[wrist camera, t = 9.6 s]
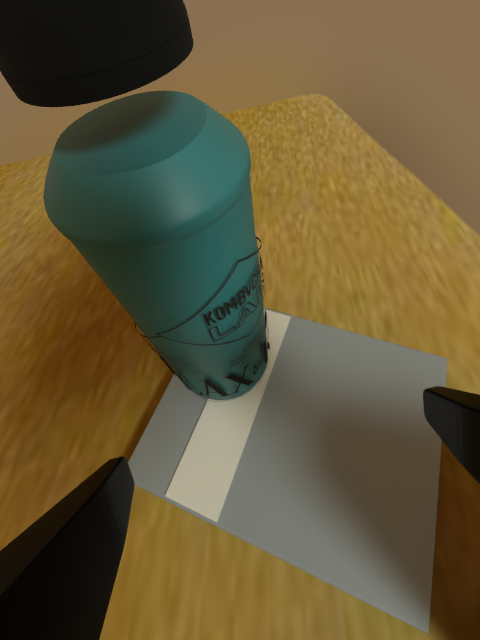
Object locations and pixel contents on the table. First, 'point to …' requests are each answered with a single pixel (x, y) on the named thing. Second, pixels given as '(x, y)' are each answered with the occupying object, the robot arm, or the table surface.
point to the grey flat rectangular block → (314, 461)
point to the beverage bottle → (147, 181)
